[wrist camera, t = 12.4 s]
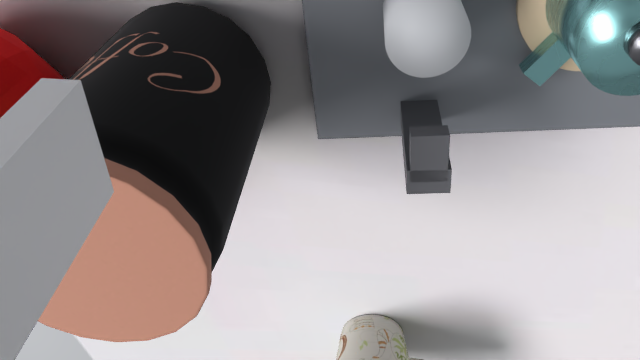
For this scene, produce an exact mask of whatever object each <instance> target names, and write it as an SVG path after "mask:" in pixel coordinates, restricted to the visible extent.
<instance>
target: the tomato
mask: <svg viewBox="0 0 640 360" xmlns="http://www.w3.org/2000/svg"><path fill="white" fill-rule="evenodd" d="M41 78H47V79H64V78H63V77H62V75H60V74H59V73H58V72H57V71H56V70H55V69H54V68H53V67H51V66H50V65H49V64H48V63H47V62H46V61H45V60H44V59H42V58H41V57H40V56H39V55H38V54H37V53H36V52H35V51H33V50H32V49H31V48H30V47H29V46H28V45H26V44H25V43H24V42H23V41H22V40H20V39H19V38H18V37H17V36H16V35H14V34H12V33H10V32H8V31H6V30H3V29H1V28H0V118H1V117H2V116H3V115H4V114H5V113H6V112H7V111H8V110H9V109H10V108H11V107H12V106H13V105H14V104H15V103H16V102H17V101H18V100H20V99H21V98H22V97H23V96H24V95H25V94H26V93H27V92H28V91H29V90H30V89H31V88H32V87H33V86H34V85H35V84H36V83H37V82H38V81H39V80H40V79H41Z"/></svg>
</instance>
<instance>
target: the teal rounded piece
mask: <svg viewBox="0 0 640 360" xmlns="http://www.w3.org/2000/svg"><path fill="white" fill-rule="evenodd" d="M546 19H547V22H548V25H549V27H550V29H551V31H552V33H551V34H550V35H549V36H548V37H547V38H546V39H545V40H544V41H543V42H542V43H541V44H540V45H539V46H538V47H537V48H536V49H535V50H533V51H532V52H531V53H530V54H529V55H528V56H527V57H526V58H525V59H524V60H523V61H522V62H521V63H520V64H519V67H520V68H521V70H522V72H523V74H524V75H526V76H527V77H528V78H530V79H531V80H532V81H533V82H535V83H536V84H537V85H539V86H541V85H542V84H543V83H544V82H545V81H546V80H547V79H548V78H549V77H550V76H552V75H553V74H554V73H555V72H556V71H557V70H558V69H559V68H560V67H561V66H562V65H563V64H564V63H565V62H567V61H568V60H569V59H570V58H572V59H573V61H574V62H575V64H576V65H577V66H578V68H579V69H580V70H581V72H582V73H583V75H584V76H585V77H586V79H587V80H588V81H589V82H590V83H591V84H592V85H593V86H595V87H596V88H598V89H599V90H602V91H604V92H606V93H610V94H613V95H620V96H633V95H640V0H546Z"/></svg>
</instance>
